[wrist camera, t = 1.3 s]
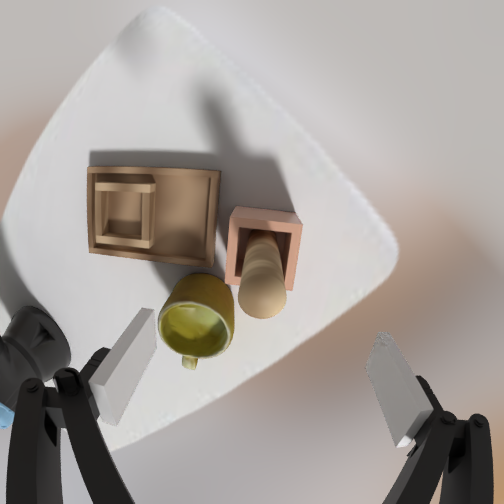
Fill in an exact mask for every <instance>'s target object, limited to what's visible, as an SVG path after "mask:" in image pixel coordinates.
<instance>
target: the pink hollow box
mask: <svg viewBox="0 0 504 504" xmlns="http://www.w3.org/2000/svg"><path fill="white" fill-rule="evenodd" d="M302 226H303V224H302V223H301V221H300V219H299V218H298V216H297V214H296V213H295V212H287V211H279V210H270V209H261V208H251V207H241V206H236V207H235V209H234V210H233V212H232V214H231V216H230V222H229V234H228V246H227V259H226V272H225V284H231V285H240V281H241V275H242V270H243V264H244V259H245V253H246V248H247V242H248V237H249V234H250V232H251V231H252V230H253V229H261V230H271V231H274V232H275V234H276V236H277V242H278V247H279V253H280V259H281V265H282V271H283V277H284V283H285V289H286V290H289V291H292V290H293V284H294V278H295V272H296V266H297V259H298V253H299V246H300V240H301V233H302Z"/></svg>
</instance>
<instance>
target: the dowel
mask: <svg viewBox="0 0 504 504" xmlns="http://www.w3.org/2000/svg"><path fill="white" fill-rule="evenodd" d="M286 298H287V297H286V289H285V283H284V277H283V271H282V265H281V259H280V253H279V247H278V242H277V236H276V234H275V232H274V231H271V230H261V229H253V230H252V231H251V232H250V234H249V237H248V242H247V248H246V253H245V259H244V264H243V270H242V275H241V281H240V287H239V292H238V302H239V305H240V307H241V308H242V310H243V311H244V312H245V313H246V314H248V315H249V316H251V317H254V318H258V319H266V318H270V317H273V316H275V315H277V314H278V313H279V312H280V311H281V310H282V309H283V307H284V306H285V303H286Z"/></svg>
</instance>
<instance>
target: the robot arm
mask: <svg viewBox="0 0 504 504" xmlns="http://www.w3.org/2000/svg"><path fill="white" fill-rule="evenodd" d="M156 349H157V344H156V331H155V317H154V310H152V309H146V308H141V310H140V311H139V312H138V314H137V315H136V316H135V318H134V319H133V320H132V322H131V323H130V324H129V326H128V327H127V328H126V330H125V331H124V332H123V334H122V335H121V336H120V338H119V339H118V341H117V342H116V343H115V345H114V346H113V347H112V349H108V348H104V347H102V348H101V349H99V350H98V351H96V352H95V353H94V354H93V356H92V357H91V359H89V361H88V362H87V364H86V365H85V366H84V367H83V369H82V370H81V371H80V373H79V372H78V371H77V370H76V369H74V368H70V367H68V366H69V364H70V361H71V352H70V348H69V345H68V343H67V340H66V338H65V336H64V335H63V333H62V332H61V330H60V329H59V327H58V326H57V325H56V324H55V322H54V321H53V320H52V319H51V318H50V317H49V316H47V315H46V314H45V313H44V312H42V311H41V310H39V309H37V308H34V307H30V306H26V307H23V308H22V309H20V310H19V311H18V312H16V313H15V314H14V316H13V318H12V320H11V322H10V324H9V326H8V328H7V329H6V331H5V333H4V335H3V336H2V337H1V336H0V429H6V428H8V427H9V426H10V425H11V424H12V423H13V425H12V432H11V439H10V447H9V455H8V467H7V483H6V504H63V497H62V484H61V462H60V461H61V460H60V436H61V434H60V433H61V428H66V429H67V432H68V435H69V439H70V442H71V445H72V449H73V452H74V455H75V458H76V461H77V463H78V466H79V469H80V472H81V475H82V477H83V480H84V483H85V485H86V487H87V490H88V492H89V495H90V497H91V499H92V501H93V504H135V502H134V500H133V499H132V497H131V495H130V493H129V491H128V489H127V488H126V486H125V484H124V482H123V480H122V478H121V476H120V474H119V472H118V470H117V468H116V466H115V463H114V462H113V459H112V457H111V455H110V452H109V450H108V448H107V446H106V443H105V441H104V438H103V436H102V433H101V431H100V428H99V426H98V423H97V421H96V420H97V419H98V417H99V415H100V417H101V419H102V422H104V423H107V424H110V425H114V426H117V425H118V423H119V421H120V419H121V417H122V415H123V413H124V411H125V409H126V407H127V405H128V403H129V401H130V399H131V397H132V395H133V393H134V391H135V389H136V387H137V385H138V383H139V381H140V379H141V377H142V375H143V373H144V371H145V370H146V368H147V366H148V364H149V362H150V360H151V358H152V356H153V354H154V352H155V350H156ZM365 368H366V371H367V373H368V376H369V378H370V381H371V383H372V386H373V388H374V391H375V393H376V396H377V398H378V401H379V403H380V406H381V409H382V411H383V414H384V417H385V419H386V422H387V425H388V428H389V430H390V433H391V436H392V439H393V441H394V444H395V447H402V446H408V445H409V444H410V443H411V441H412V440H413V439H415V442H416V445H415V446H414V447H413V448H412V450H411V451H410V452H409V453H408V455H407V456H409V457H408V459H407V461H406V463H405V465H404V467H403V469H402V471H401V472H400V474H399V476H398V478H397V480H396V482H395V483H394V485H393V487H392V489H391V490H390V492H389V494H388V495H387V497H386V499H385V500H384V502H383V503H382V504H430V501H431V499H432V496H433V494H434V492H435V490H436V487H437V485H438V482H439V480H440V477H441V475H442V472H443V479H442V488H441V495H440V502H439V504H493V494H494V493H493V492H494V490H493V488H494V485H493V484H494V483H493V458H492V447H491V436H490V428H489V423H488V420H487V419H486V417H484V416H483V415H480V414H473V415H472V416H471V417H470V418H469V420H457V418H456V416H455V415H454V414H452V413H451V412H448V411H444V410H443V409H442V407H441V405H440V403H439V402H438V400H437V398H436V396H435V395H434V394H433V391H432V389H430V386H429V384H428V383H427V381H426V380H425V379H424V378H422V377H421V376H415V375H414V373H413V371H412V369H411V368H410V366H409V365H408V363H407V361H406V360H405V358H404V356H403V354H402V352H401V351H400V349H399V348H398V346H397V344H396V343H395V341H394V339H393V338H392V336H391V335H390V333H389V332H378V334H377V337H376V340H375V343H374V345H373V348H372V351H371V354H370V356H369V359H368V361H367V364H366V367H365ZM52 378H53V382H54V384H55V387H56V388H54V387H45V385H44V383H45V382H47V381H48V380H50V379H52Z"/></svg>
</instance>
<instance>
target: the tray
mask: <svg viewBox="0 0 504 504" xmlns="http://www.w3.org/2000/svg"><path fill="white" fill-rule="evenodd" d="M220 177H221V171H218V170H204V169H188V168H169V167H140V166H92V167H87V224H88V244H89V253H95V254H102V255H110V256H117V257H125V258H133V259H141V260H149V261H157V262H165V263H173V264H181V265H190V266H198V267H207V268H212V266H213V264H214V256H215V241H216V227H217V213H218V201H219V189H220Z"/></svg>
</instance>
